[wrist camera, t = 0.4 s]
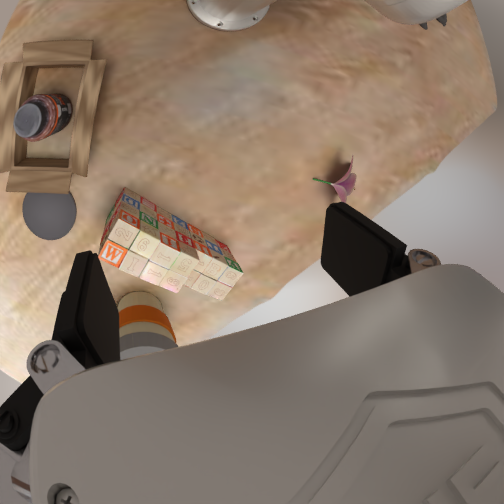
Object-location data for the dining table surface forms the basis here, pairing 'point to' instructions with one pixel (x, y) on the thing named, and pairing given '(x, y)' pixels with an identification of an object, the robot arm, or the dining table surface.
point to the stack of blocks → (165, 249)
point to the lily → (344, 184)
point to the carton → (22, 87)
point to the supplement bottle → (42, 116)
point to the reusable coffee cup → (143, 326)
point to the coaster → (49, 214)
